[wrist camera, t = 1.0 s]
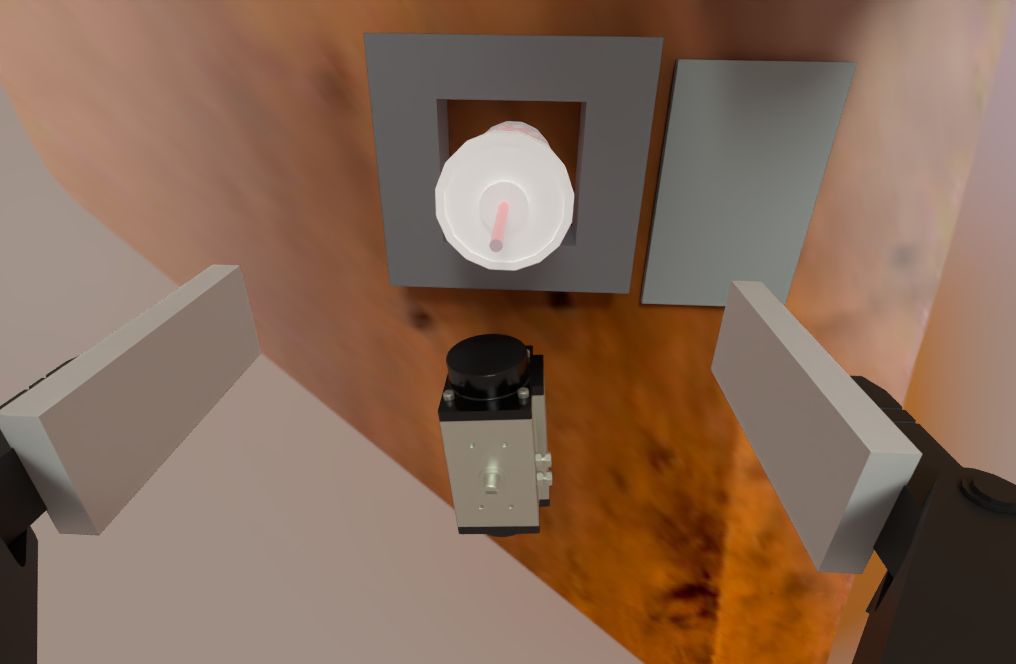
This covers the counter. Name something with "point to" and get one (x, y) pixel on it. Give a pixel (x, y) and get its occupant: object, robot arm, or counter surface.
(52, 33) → the counter surface
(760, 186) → the rubber mat
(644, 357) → the counter surface
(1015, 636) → the robot arm
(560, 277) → the socket block
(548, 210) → the beverage cup
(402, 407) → the counter surface
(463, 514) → the pneumatic valve
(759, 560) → the counter surface
